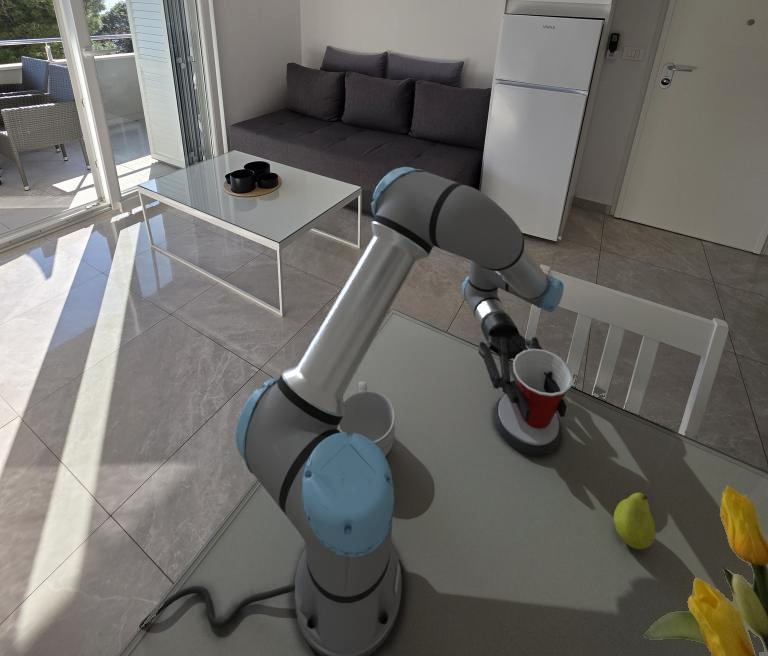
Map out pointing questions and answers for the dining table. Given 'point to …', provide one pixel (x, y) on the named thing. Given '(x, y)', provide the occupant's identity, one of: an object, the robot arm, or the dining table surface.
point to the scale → (525, 430)
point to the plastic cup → (541, 383)
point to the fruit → (635, 521)
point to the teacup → (369, 417)
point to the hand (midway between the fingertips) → (545, 413)
